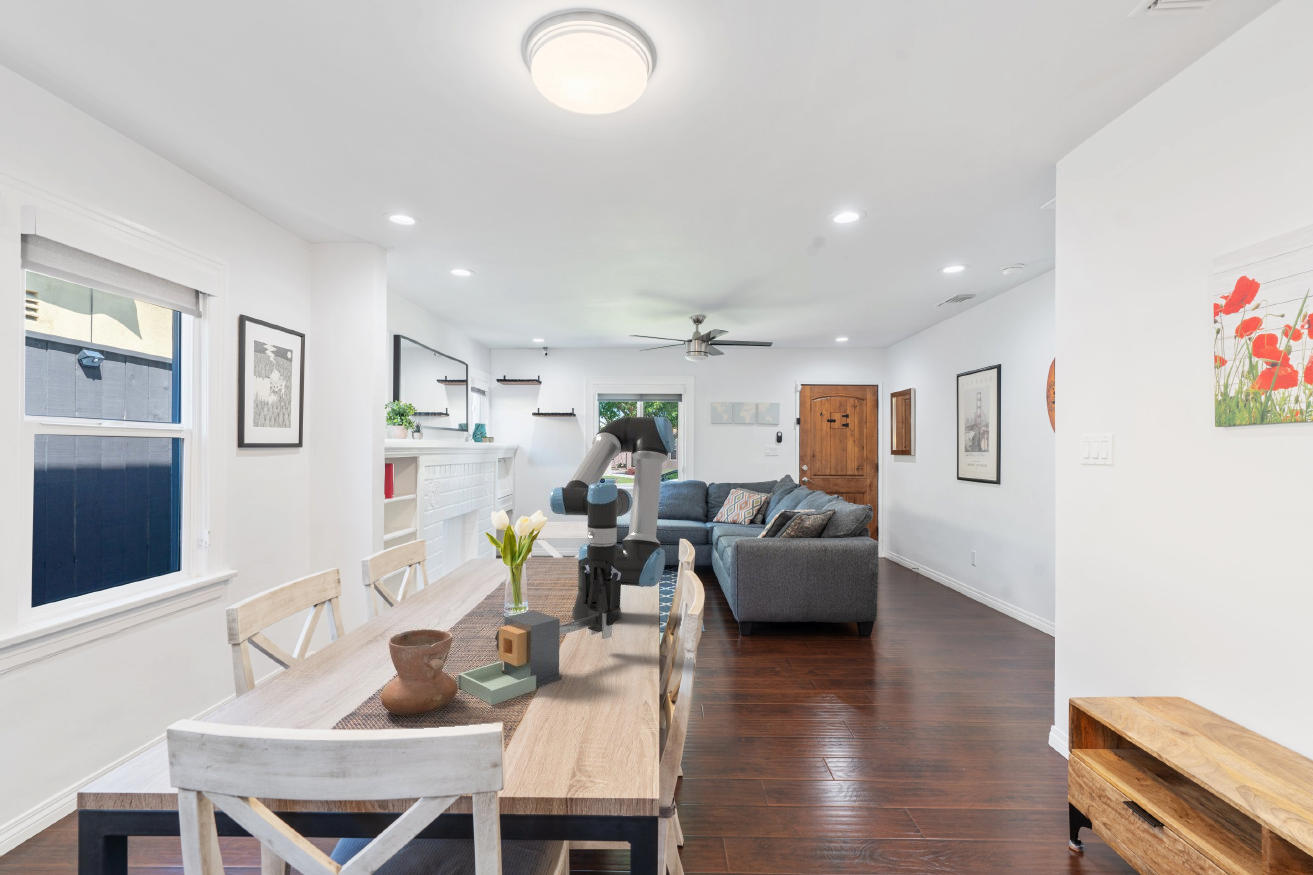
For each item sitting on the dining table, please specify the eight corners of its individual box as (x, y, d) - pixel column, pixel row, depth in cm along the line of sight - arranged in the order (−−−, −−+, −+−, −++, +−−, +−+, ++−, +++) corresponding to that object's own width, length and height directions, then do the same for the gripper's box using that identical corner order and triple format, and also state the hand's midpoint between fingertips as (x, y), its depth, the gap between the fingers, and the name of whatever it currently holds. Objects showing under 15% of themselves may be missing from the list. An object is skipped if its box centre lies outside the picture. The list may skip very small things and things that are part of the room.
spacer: (507, 655, 139) (508, 625, 139) (526, 663, 135) (526, 631, 135) (498, 658, 138) (498, 627, 138) (516, 666, 133) (517, 633, 133)
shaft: (599, 625, 158) (599, 606, 159) (610, 628, 156) (610, 609, 156) (511, 650, 138) (512, 628, 138) (522, 654, 136) (522, 632, 136)
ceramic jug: (472, 710, 122) (473, 638, 123) (399, 731, 112) (401, 653, 113) (434, 685, 135) (435, 621, 136) (365, 703, 125) (367, 633, 126)
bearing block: (529, 666, 147) (530, 609, 147) (561, 679, 139) (562, 619, 139) (501, 675, 141) (502, 616, 141) (533, 689, 133) (533, 626, 133)
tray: (501, 674, 142) (501, 661, 142) (535, 689, 133) (536, 675, 133) (457, 687, 133) (457, 674, 133) (491, 705, 124) (491, 690, 124)
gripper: (568, 541, 159) (567, 631, 159) (614, 549, 148) (613, 646, 147) (590, 538, 165) (589, 625, 165) (636, 546, 154) (634, 639, 153)
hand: (600, 635), depth 156 cm, fingers open, 4 cm apart
